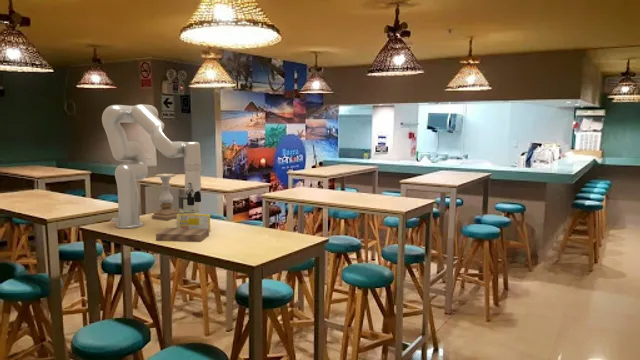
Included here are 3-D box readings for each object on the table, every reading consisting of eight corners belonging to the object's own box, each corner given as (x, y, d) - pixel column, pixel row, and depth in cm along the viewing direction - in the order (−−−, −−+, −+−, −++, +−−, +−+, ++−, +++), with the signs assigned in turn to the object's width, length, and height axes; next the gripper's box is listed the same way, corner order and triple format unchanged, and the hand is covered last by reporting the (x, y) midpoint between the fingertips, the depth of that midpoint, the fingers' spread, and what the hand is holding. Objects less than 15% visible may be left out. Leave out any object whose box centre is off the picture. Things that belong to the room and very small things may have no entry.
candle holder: (166, 215, 258) (165, 173, 255) (181, 217, 253) (180, 174, 251) (151, 218, 248) (150, 174, 246) (166, 220, 244) (165, 176, 241)
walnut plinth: (155, 240, 202) (155, 233, 202) (166, 234, 214) (166, 227, 214) (200, 241, 201) (200, 235, 201) (208, 235, 213) (208, 229, 213)
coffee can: (175, 223, 238) (174, 196, 236) (186, 219, 247) (186, 193, 246) (192, 225, 235) (191, 197, 233) (203, 221, 244) (202, 194, 243)
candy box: (210, 231, 222) (210, 214, 221) (209, 232, 220) (209, 215, 219) (178, 230, 223) (178, 213, 222) (176, 231, 221) (176, 214, 220)
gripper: (191, 166, 227) (192, 200, 229) (178, 169, 210) (179, 206, 211) (206, 166, 226) (207, 200, 228) (194, 169, 209) (195, 206, 211)
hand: (194, 203), depth 220 cm, fingers open, 9 cm apart
